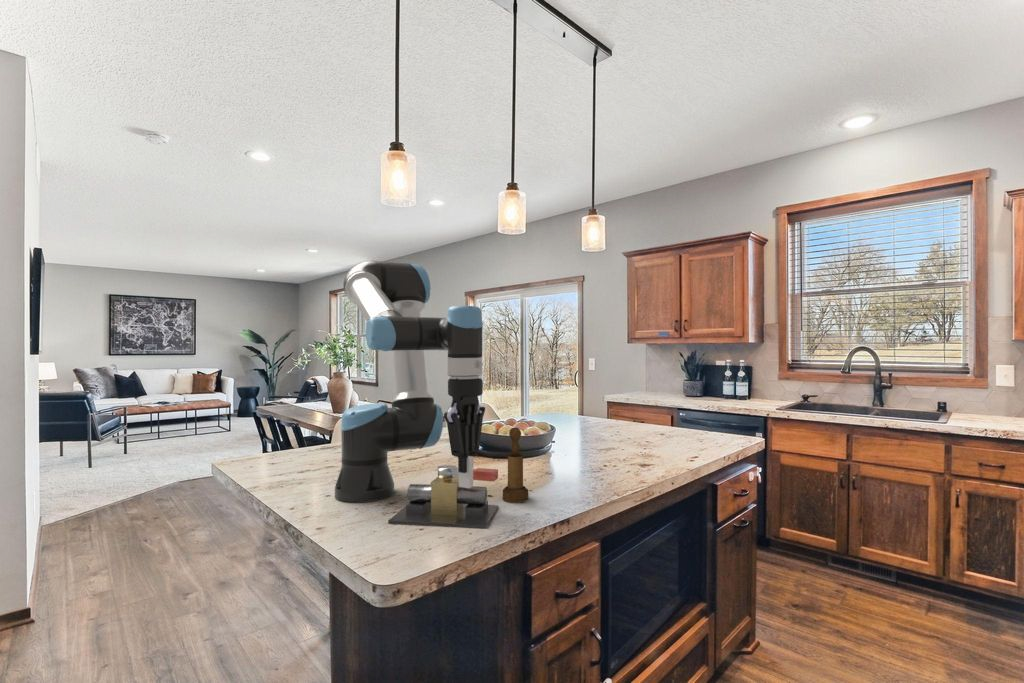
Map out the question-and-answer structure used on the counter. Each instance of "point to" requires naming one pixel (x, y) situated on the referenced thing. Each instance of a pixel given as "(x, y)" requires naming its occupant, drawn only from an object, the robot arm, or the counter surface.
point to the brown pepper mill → (515, 472)
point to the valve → (446, 505)
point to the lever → (478, 473)
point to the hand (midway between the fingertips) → (466, 486)
